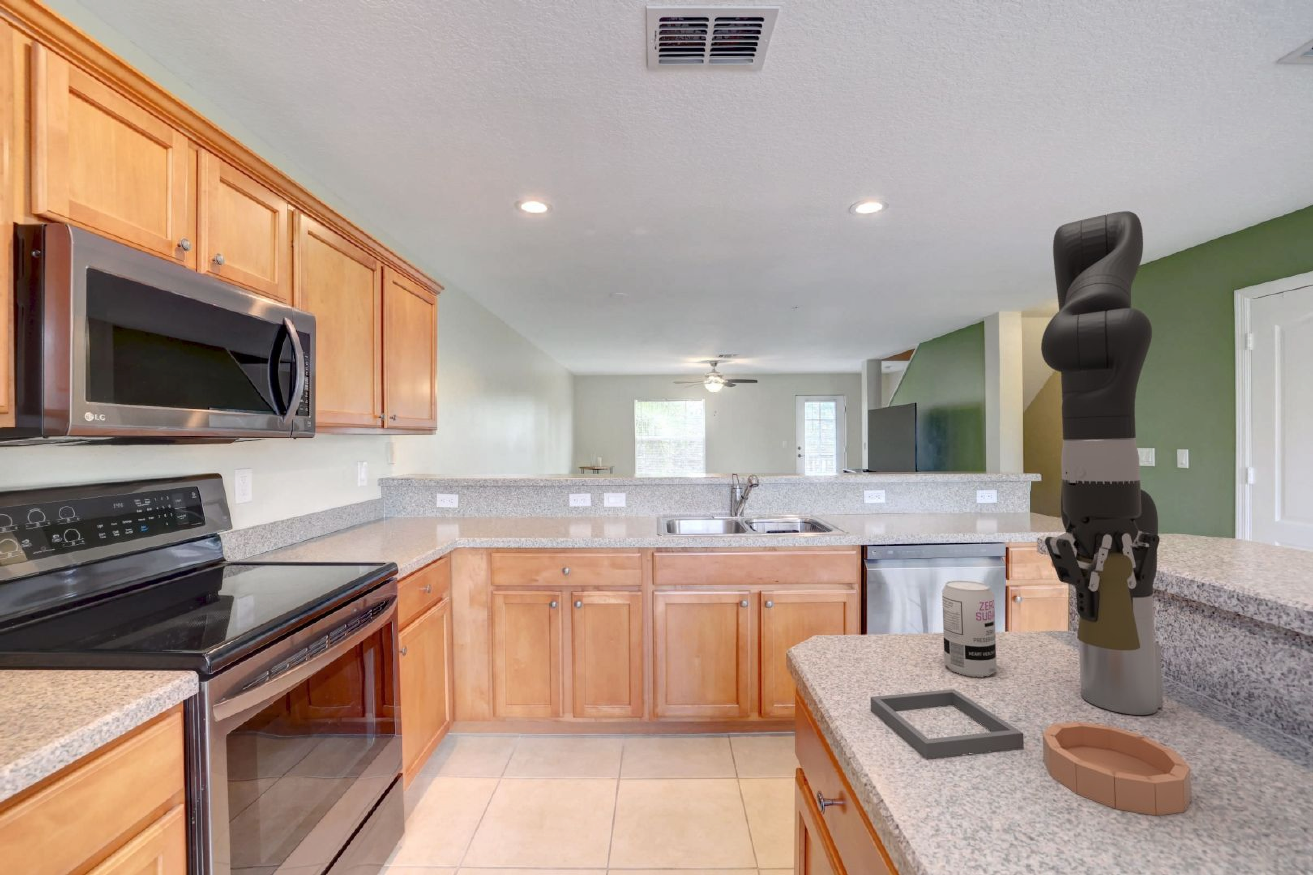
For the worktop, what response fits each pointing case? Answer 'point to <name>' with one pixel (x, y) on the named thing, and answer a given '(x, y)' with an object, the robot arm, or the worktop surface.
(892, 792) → the worktop surface
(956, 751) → the rectangular frame
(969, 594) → the supplement can
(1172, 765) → the bowl
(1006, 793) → the worktop surface
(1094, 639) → the olive pestle
